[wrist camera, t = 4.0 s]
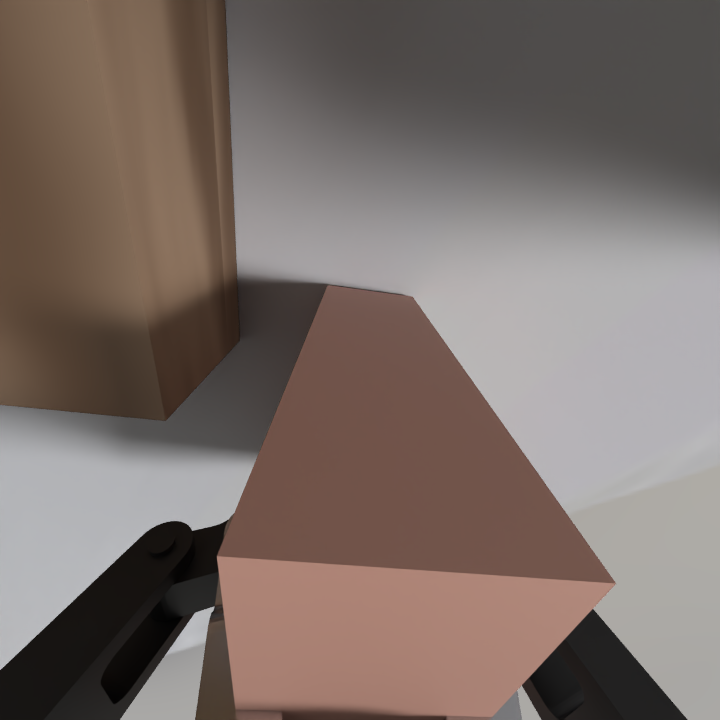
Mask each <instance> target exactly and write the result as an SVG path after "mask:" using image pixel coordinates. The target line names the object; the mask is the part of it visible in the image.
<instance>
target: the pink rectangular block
mask: <svg viewBox="0 0 720 720" xmlns="http://www.w3.org/2000/svg"><path fill="white" fill-rule="evenodd" d="M217 561H218V570H219V578H220V586H221V594H222V603H223V611H224V619H225V627H226V635H227V644H228V652H229V660H230V668H231V677H232V685H233V693H234V701H235V709H241V710H274V711H282V720H444V719H445V717H446V716H471V717H493V716H494V715H495V713H496V712H497V711H498V710H499V709H500V708H501V707H502V706H503V705H504V704H505V703H506V702H507V701H508V699H509V698H510V697H511V696H512V695H513V694H514V693H515V692H516V691H517V690H518V688H520V687H521V685H522V684H523V683H524V682H525V681H526V680H527V679H528V678H529V677H530V676H531V675H532V674H533V673H534V671H535V670H536V669H537V668H538V667H539V666H540V665H541V664H542V663H543V662H544V661H545V660H546V659H547V657H548V656H549V655H550V654H551V653H552V652H553V651H554V650H555V649H556V648H557V647H558V646H559V645H560V643H561V642H562V641H563V640H564V639H565V638H566V637H567V636H568V635H569V634H570V633H571V632H572V631H573V629H574V628H575V627H576V626H577V625H578V624H579V623H580V622H581V621H582V620H583V619H584V618H585V617H586V615H587V614H588V613H589V612H590V611H591V610H592V609H593V608H594V607H595V606H596V605H597V604H598V602H599V601H600V600H601V599H602V598H603V597H604V596H605V595H606V594H607V593H608V592H609V591H610V590H611V588H612V587H613V586H614V585H615V584H616V583H615V581H614V580H613V579H612V577H611V576H610V574H609V573H608V572H607V570H606V569H605V567H604V566H603V565H602V563H601V562H600V560H599V559H598V557H597V556H596V555H595V553H594V552H593V550H592V549H591V548H590V546H589V545H588V543H587V542H586V541H585V539H584V538H583V536H582V535H581V533H580V532H579V531H578V529H577V528H576V526H575V525H574V524H573V522H572V521H571V520H570V518H569V517H568V515H567V514H566V512H565V511H564V510H563V508H562V507H561V505H560V504H559V502H558V501H557V500H556V498H555V497H554V495H553V494H552V493H551V491H550V490H549V488H548V487H547V486H546V484H545V483H544V481H543V480H542V479H541V477H540V476H539V474H538V473H537V471H536V470H535V469H534V467H533V466H532V464H531V463H530V462H529V460H528V459H527V457H526V456H525V455H524V453H523V452H522V450H521V449H520V448H519V446H518V445H517V443H516V442H515V440H514V439H513V438H512V436H511V435H510V433H509V432H508V431H507V429H506V428H505V426H504V425H503V424H502V422H501V421H500V419H499V418H498V417H497V415H496V414H495V412H494V411H493V409H492V408H491V407H490V405H489V404H488V402H487V401H486V400H485V398H484V397H483V395H482V394H481V393H480V391H479V390H478V388H477V387H476V386H475V384H474V383H473V381H472V380H471V378H470V377H469V376H468V374H467V373H466V371H465V370H464V369H463V367H462V366H461V364H460V363H459V362H458V360H457V359H456V357H455V356H454V355H453V353H452V352H451V350H450V349H449V347H448V346H447V345H446V343H445V342H444V340H443V339H442V338H441V336H440V335H439V333H438V332H437V331H436V329H435V328H434V326H433V325H432V324H431V322H430V321H429V319H428V318H427V316H426V315H425V314H424V312H423V311H422V309H421V308H420V307H419V305H418V304H417V302H416V301H415V300H414V298H413V297H411V296H403V295H396V294H389V293H382V292H374V291H367V290H360V289H353V288H346V287H338V286H331V285H328V286H327V288H326V290H325V293H324V295H323V298H322V300H321V303H320V305H319V308H318V310H317V312H316V315H315V317H314V320H313V322H312V325H311V327H310V330H309V332H308V334H307V337H306V339H305V342H304V344H303V347H302V349H301V352H300V354H299V357H298V359H297V361H296V364H295V366H294V369H293V371H292V374H291V376H290V379H289V381H288V383H287V386H286V388H285V391H284V393H283V396H282V398H281V401H280V403H279V405H278V408H277V410H276V413H275V415H274V418H273V420H272V423H271V425H270V427H269V430H268V432H267V435H266V437H265V440H264V442H263V445H262V447H261V450H260V452H259V454H258V457H257V459H256V462H255V464H254V467H253V469H252V472H251V474H250V476H249V479H248V481H247V484H246V486H245V489H244V491H243V494H242V496H241V498H240V501H239V503H238V506H237V508H236V511H235V513H234V516H233V518H232V520H231V523H230V525H229V528H228V530H227V533H226V535H225V538H224V540H223V542H222V545H221V547H220V550H219V552H218V555H217Z"/></svg>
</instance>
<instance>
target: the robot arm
mask: <svg viewBox="0 0 720 720" xmlns="http://www.w3.org/2000/svg"><path fill="white" fill-rule="evenodd" d="M233 516H234V514H233V515H232V516H231V517H230V519H229V520H227V521H225V522H224V523H221V524H219V525H216V526H212V527H208V528H203V529H199V530H195V531H192V530H191V528H190V527H189V526H188V525H187V524H185V523H183V522H179V521H171V522H166V523H162V524H160V525H157V526H155V527H154V528H152V529H150V530H149V531H147V532H146V533H145V534H144V535H143V536H142V537H140V538H139V539H138V540H137V541H136V542H135V543H134V544H133V545H132V546H131V547H130V548H129V549H128V550H127V551H126V552H125V553H124V554H123V555H121V556H120V557H119V558H118V559H117V560H116V561H115V562H114V563H113V564H112V565H111V566H110V567H109V568H108V569H107V570H106V571H105V572H104V573H102V574H101V575H100V576H99V577H98V578H97V579H96V580H95V581H94V582H93V583H92V584H91V585H90V586H89V587H88V588H87V589H86V590H85V591H83V592H82V593H81V594H80V595H79V596H78V597H77V598H76V599H75V600H74V601H73V602H72V603H71V604H70V605H69V606H68V607H67V608H66V609H64V610H63V611H62V612H61V613H60V614H59V615H58V616H57V617H56V618H55V619H54V620H53V621H52V622H51V623H50V624H49V625H48V626H47V627H45V628H44V629H43V630H42V631H41V632H40V633H39V634H38V635H37V636H36V637H35V638H34V639H33V640H32V641H31V642H30V643H29V644H28V645H27V646H25V647H24V648H23V649H22V650H21V651H20V652H19V653H18V654H17V655H16V656H15V657H14V658H13V659H12V660H11V661H10V662H9V663H8V664H6V665H5V666H4V667H3V668H2V669H1V670H0V720H120V718H121V717H122V716H123V714H124V713H125V711H126V710H127V709H128V707H129V706H130V704H131V703H132V701H133V700H134V699H135V697H136V696H137V694H138V693H139V691H140V690H141V689H142V687H143V686H144V684H145V683H146V682H147V680H148V679H149V677H150V676H151V674H152V673H153V672H154V670H155V669H156V667H157V666H158V664H159V663H160V661H161V660H162V659H163V657H164V656H165V655H166V653H167V652H168V650H169V649H170V647H171V646H172V645H173V643H174V642H175V640H176V639H177V637H178V636H179V635H180V633H181V632H182V630H183V629H184V627H185V626H186V625H187V623H188V622H189V620H190V619H191V618H192V616H193V615H194V613H195V612H198V611H201V610H204V609H207V608H210V607H213V606H215V607H214V611H213V612H212V613H211V616H210V620H209V625H208V631H207V638H206V646H205V653H204V660H203V667H202V675H201V682H200V689H199V697H198V704H197V711H196V718H195V720H282V711H274V710H241V709H235V701H234V693H233V685H232V677H231V668H230V660H229V652H228V644H227V635H226V627H225V619H224V611H223V603H222V594H221V586H220V578H219V570H218V561H217V555H218V552H219V550H220V547H221V545H222V542H223V540H224V538H225V535H226V533H227V530H228V528H229V525H230V523H231V520H232V518H233ZM522 686H523V688H524V690H525V691H526V693H527V695H528V696H529V698H530V700H531V701H532V704H533V705H534V707H535V709H536V711H537V712H538V714H539V716H540V717H541V719H542V720H687V719H686V717H685V716H684V715H683V714H682V713H681V712H680V710H679V709H678V708H677V707H676V706H675V705H674V703H673V702H672V701H671V700H670V699H669V698H668V696H667V695H666V694H665V693H664V692H663V691H662V689H661V688H660V687H659V686H658V685H657V683H656V682H655V681H654V680H653V679H652V678H651V677H650V675H649V674H648V673H647V672H646V671H645V669H644V668H643V667H642V666H641V665H640V663H639V662H638V661H637V660H636V659H635V658H634V657H633V655H632V654H631V653H630V652H629V651H628V650H627V648H626V647H625V646H624V645H623V644H622V642H620V640H619V639H618V638H617V637H616V635H615V634H614V633H613V632H612V631H611V630H610V628H609V627H608V626H607V625H606V624H605V622H604V621H603V620H602V619H601V618H600V617H599V615H598V614H597V613H596V612H595V611H594V610H593V609H592V610H591V611H590V612H589V613H588V614H587V615H586V617H585V618H584V619H583V620H582V621H581V622H580V623H579V624H578V625H577V626H576V627H575V628H574V629H573V631H572V632H571V633H570V634H569V635H568V636H567V637H566V638H565V639H564V640H563V641H562V642H561V643H560V645H559V646H558V647H557V648H556V649H555V650H554V651H553V652H552V653H551V654H550V655H549V656H548V657H547V659H546V660H545V661H544V662H543V663H542V664H541V665H540V666H539V667H538V668H537V669H536V670H535V671H534V673H533V674H532V675H531V676H530V677H529V678H528V679H527V680H526V681H525V682H524V683H523V684H522ZM444 720H522V717H521V711H520V705H519V699H518V692H517V691H516V692H515V693H514V694H513V695H512V696H511V697H510V698H509V699H508V701H507V702H506V703H505V704H504V705H503V706H502V707H501V708H500V709H499V710H498V711H497V712H496V713H495V715H494V716H493V717H471V716H446V717H445V719H444Z"/></svg>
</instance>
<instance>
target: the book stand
mask: <svg viewBox="0 0 720 720" xmlns="http://www.w3.org/2000/svg"><path fill="white" fill-rule="evenodd" d="M239 341H240V333H239V310H238V287H237V264H236V241H235V217H234V194H233V171H232V148H231V125H230V101H229V78H228V55H227V32H226V9H225V0H0V405H8V406H19V407H29V408H39V409H49V410H60V411H70V412H80V413H90V414H101V415H111V416H121V417H131V418H142V419H152V420H162V421H166V420H167V419H168V418H169V417H170V416H171V415H172V413H173V412H174V411H175V410H176V409H177V408H178V407H179V406H180V405H181V404H182V403H183V402H184V400H185V399H186V398H187V397H188V396H189V395H190V394H191V393H192V392H193V391H194V390H195V389H196V387H197V386H198V385H199V384H200V383H201V382H202V381H203V380H204V379H205V378H206V377H207V376H208V374H209V373H210V372H211V371H212V370H213V369H214V368H215V367H216V366H217V365H218V364H219V362H220V361H221V360H222V359H223V358H224V357H225V356H226V355H227V354H228V353H229V352H230V351H231V349H232V348H233V347H234V346H235V345H236V344H237V343H238V342H239Z"/></svg>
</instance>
